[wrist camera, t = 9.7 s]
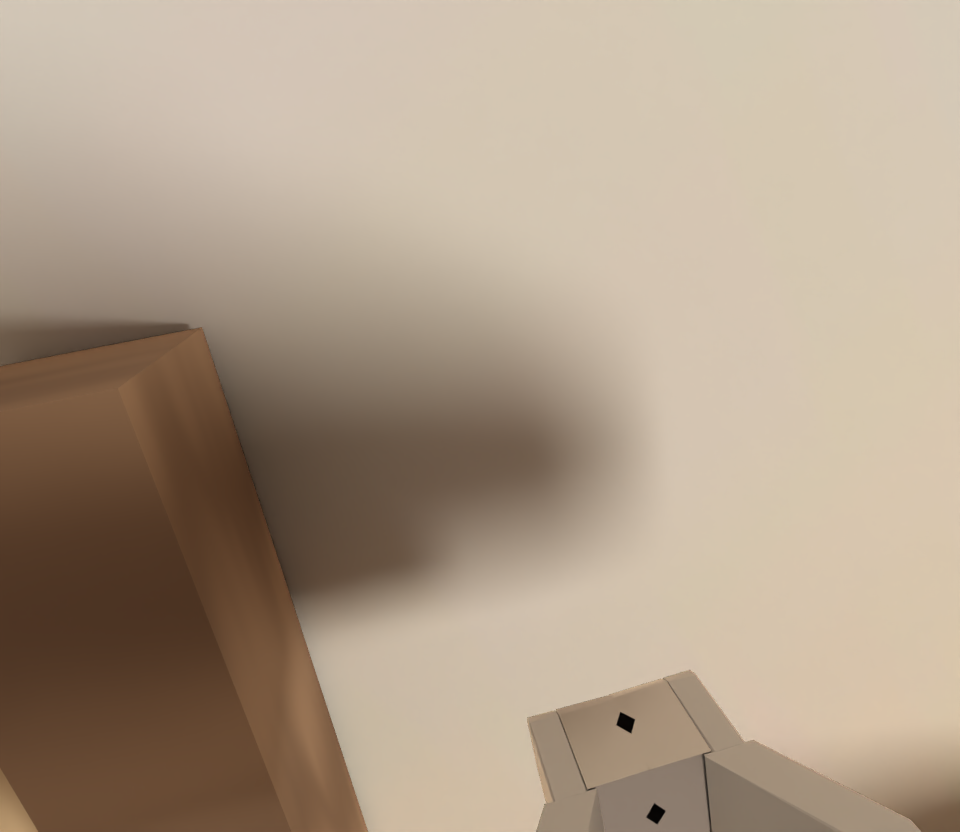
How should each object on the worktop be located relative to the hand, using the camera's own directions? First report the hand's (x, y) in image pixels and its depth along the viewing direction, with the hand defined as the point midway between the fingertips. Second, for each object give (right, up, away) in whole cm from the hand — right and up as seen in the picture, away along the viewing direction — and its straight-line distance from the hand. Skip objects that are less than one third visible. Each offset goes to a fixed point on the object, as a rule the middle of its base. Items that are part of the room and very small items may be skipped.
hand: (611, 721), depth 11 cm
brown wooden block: (-7, -3, +4) cm, 9 cm away
